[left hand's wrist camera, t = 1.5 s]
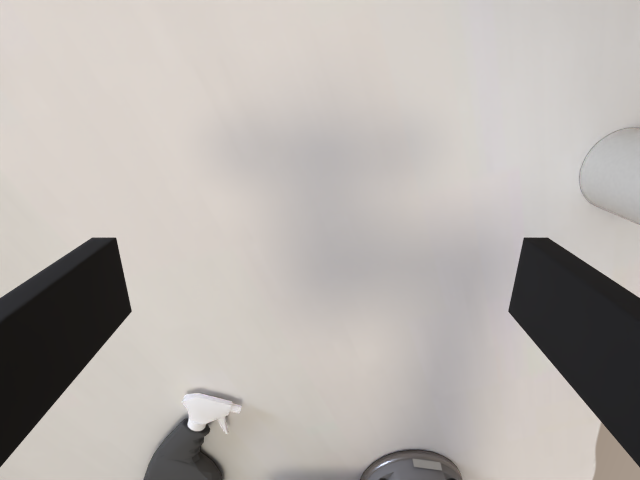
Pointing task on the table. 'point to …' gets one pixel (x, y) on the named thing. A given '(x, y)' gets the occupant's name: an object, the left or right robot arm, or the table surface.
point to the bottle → (614, 174)
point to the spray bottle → (191, 442)
